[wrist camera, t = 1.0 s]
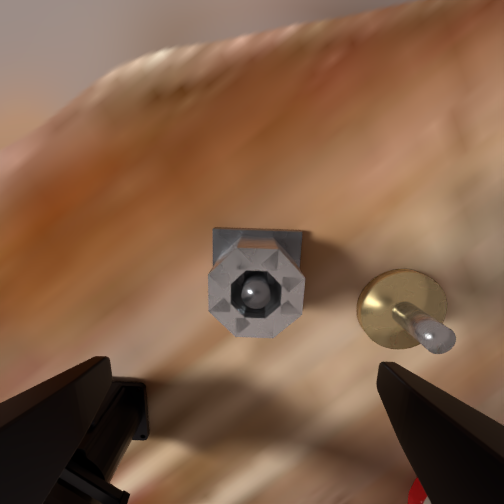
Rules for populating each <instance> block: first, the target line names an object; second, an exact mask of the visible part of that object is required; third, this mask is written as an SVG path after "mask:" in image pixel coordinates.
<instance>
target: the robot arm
mask: <svg viewBox="0 0 504 504" xmlns="http://www.w3.org/2000/svg"><path fill="white" fill-rule="evenodd" d="M376 384H377V390H378V393H379V395H380V398H381V400H382V402H383V405H384V407H385V409H386V412H387V414H388V417H389V419H390V421H391V424H392V426H393V429H394V431H395V433H396V436H397V438H398V440H399V442H400V444H401V446H402V448H403V450H404V452H405V454H406V456H407V458H408V460H409V462H410V464H411V466H412V468H413V470H414V472H415V473H416V475H417V477H418V479H419V481H420V483H421V485H422V487H423V489H424V491H425V493H426V494H427V496H428V498H429V500H430V502H431V504H504V426H503V425H502V424H500V423H498V422H496V421H495V420H493V419H491V418H490V417H488V416H486V415H484V414H483V413H481V412H479V411H478V410H476V409H474V408H472V407H471V406H469V405H467V404H465V403H464V402H462V401H460V400H459V399H457V398H455V397H453V396H452V395H450V394H448V393H447V392H445V391H443V390H441V389H440V388H438V387H436V386H434V385H433V384H431V383H429V382H428V381H426V380H424V379H422V378H421V377H419V376H417V375H416V374H414V373H412V372H410V371H409V370H407V369H405V368H403V367H402V366H400V365H398V364H397V363H395V362H381V363H380V364H379V369H378V376H377V383H376ZM148 436H149V421H148V409H147V397H146V387H145V385H144V384H143V383H132V382H112V371H111V364H110V359H109V358H108V357H106V356H95V357H93V358H91V359H89V360H87V361H85V362H83V363H81V364H79V365H77V366H74V367H72V368H70V369H68V370H66V371H64V372H62V373H60V374H58V375H56V376H54V377H52V378H50V379H48V380H46V381H44V382H42V383H40V384H38V385H36V386H34V387H32V388H30V389H28V390H26V391H24V392H22V393H20V394H18V395H16V396H14V397H12V398H10V399H8V400H6V401H4V402H2V403H0V504H127V503H128V499H129V496H130V494H129V493H128V492H126V491H121V490H120V489H118V488H116V487H115V486H113V485H112V484H110V481H111V479H112V477H113V475H114V473H115V471H116V469H117V467H118V466H119V464H120V462H121V460H122V458H123V456H124V454H125V452H126V450H127V448H128V446H129V444H130V442H131V440H146V439H147V438H148Z"/></svg>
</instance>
